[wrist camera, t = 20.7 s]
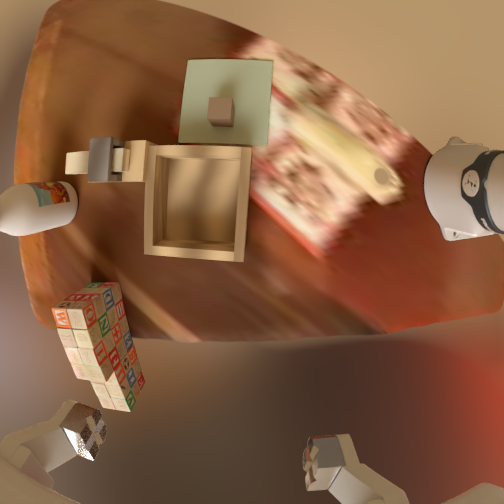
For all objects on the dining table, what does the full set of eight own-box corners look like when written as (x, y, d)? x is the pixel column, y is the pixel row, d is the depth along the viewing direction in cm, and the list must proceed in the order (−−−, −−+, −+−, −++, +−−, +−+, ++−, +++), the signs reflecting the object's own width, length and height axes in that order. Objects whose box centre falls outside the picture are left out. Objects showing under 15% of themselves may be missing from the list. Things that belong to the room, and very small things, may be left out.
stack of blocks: (146, 382, 48) (125, 424, 36) (119, 379, 48) (95, 418, 36) (119, 280, 43) (81, 309, 31) (90, 281, 43) (50, 308, 31)
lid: (272, 63, 36) (274, 46, 30) (266, 146, 39) (268, 139, 33) (189, 62, 36) (180, 46, 30) (179, 143, 39) (167, 137, 33)
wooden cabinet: (252, 150, 38) (251, 135, 27) (245, 249, 42) (241, 273, 30) (116, 149, 38) (74, 140, 27) (113, 240, 42) (73, 257, 30)
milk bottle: (84, 216, 41) (-2, 238, 21) (55, 230, 41) (-26, 256, 22) (73, 174, 39) (-13, 176, 20) (45, 190, 40) (-37, 200, 20)
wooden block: (130, 149, 31) (123, 148, 29) (128, 171, 31) (121, 171, 29) (74, 154, 31) (66, 153, 29) (73, 174, 31) (65, 174, 29)
